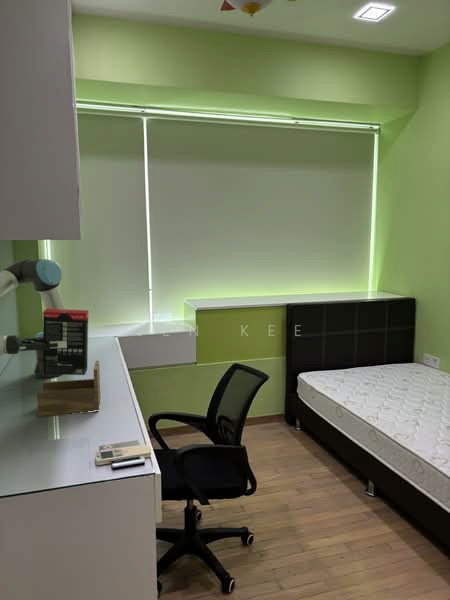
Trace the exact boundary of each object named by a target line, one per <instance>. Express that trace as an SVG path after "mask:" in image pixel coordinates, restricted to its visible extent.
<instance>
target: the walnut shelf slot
mask: <svg viewBox="0 0 450 600" xmlns="http://www.w3.org/2000/svg"><path fill="white" fill-rule="evenodd" d="M94 363H95V364H94V366H93V378H86V379H85V378H83V379H74V380H73V379H72V380H70V379H69V380H57V381H55V380H54V381H44V382H42V391H36V399H37V402H36V403H37V417H38V418H45V417H55V416H58V415H59V416H66V415H65V414H70V415H73V414H72V413H80V412H88V411H94V410H99V411H100V408H99V405H100V406H101V401H100V399H102V398H101V396H102V395H101V376H100V373H101V372H100V360H95V362H94ZM59 416H58V417H59Z"/></svg>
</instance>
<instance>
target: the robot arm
mask: <svg viewBox="0 0 450 600" xmlns="http://www.w3.org/2000/svg"><path fill="white" fill-rule="evenodd" d="M62 275H63V270H62V268H61V266H60V265H59V263H57V262H56V261H54V260H52V259H47V258H42V259H41V258H39V259H38V258H37V259H34V258H32V259H31V258H24V259H21V260H18V261H16V262H14V263H12V264H10V265H9V266H7V267H5V268H4V269H3V270H2V271H0V298H1V297H2V296H3V295H5V294H6V293H8V292H9V291H10V290H11V289H16V288H18V287H19V286H22V285H25V284H27V285H28V284H29V285H33V288H34V292H37V293H39V295H40V297H41V300H42V302H43V303H42V304H43V305H44V308H45V310H46V309H67V308H66V306H65V303H64V300H63V297H62V294H61V292H60V290H59V286H60V285H61V281H62ZM49 348H67V341H50V342H43V331H41V332H37V333H36V334H35V337H27V338H26V337H25V338H23V339H20V337H19V335H0V357H2V355H7V354H8V355H17V354H19V352H26V351H35V355H36V357H35V358H36V362H35V365H34V369H33V377H34V378H37V379H51V378H57V377H60V376H63V375H64V374H43V350H47V351H49Z"/></svg>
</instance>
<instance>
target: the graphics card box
mask: <svg viewBox="0 0 450 600" xmlns="http://www.w3.org/2000/svg"><path fill="white" fill-rule="evenodd" d="M42 313H43V314H42V315H43V316H42V318H43V319H42V322H43V323H42V327H43V331H42V332H43V342H50V341H67V348H49V351H47V350H43V374H63V375H66V376H67V375H70V376H71V375H73V376H85V375H86V373H87V371H88V357H89V356H88V354H89V353H88V350H89V349H88V348H89V347H88V346H89V310H88V309H87V310H86V309H85V310H84V309H68V308H66V309H46V308H45V309H44V310H43V311H42Z"/></svg>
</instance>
